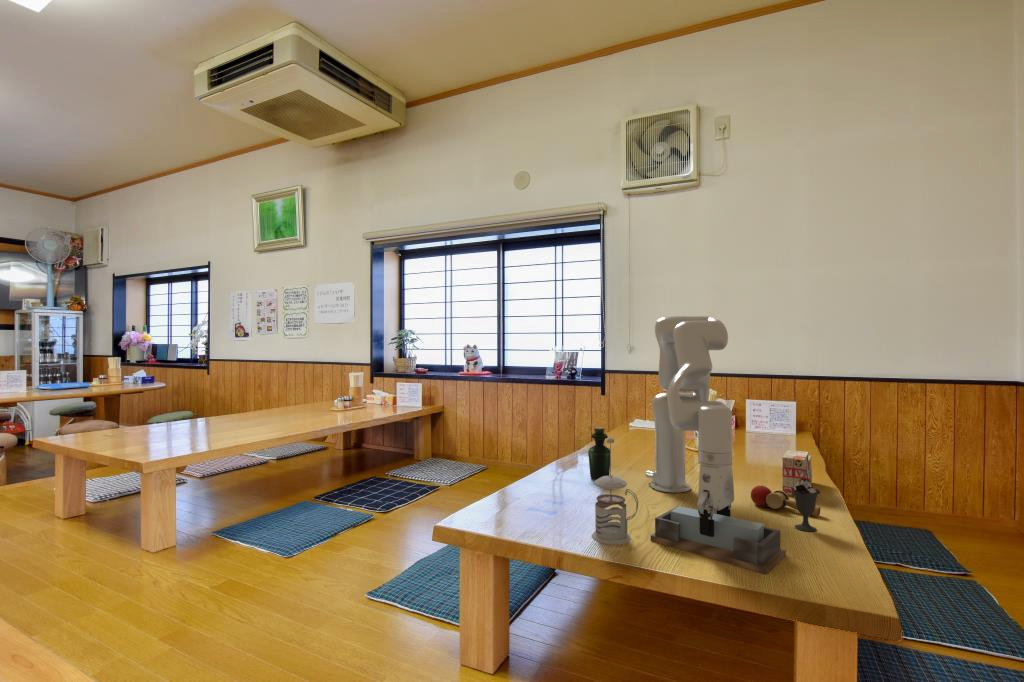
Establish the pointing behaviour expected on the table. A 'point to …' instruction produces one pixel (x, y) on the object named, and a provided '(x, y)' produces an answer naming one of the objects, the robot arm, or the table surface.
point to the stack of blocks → (795, 469)
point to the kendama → (775, 499)
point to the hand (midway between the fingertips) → (715, 529)
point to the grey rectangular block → (716, 528)
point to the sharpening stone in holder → (744, 554)
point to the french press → (611, 511)
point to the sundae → (805, 501)
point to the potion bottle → (599, 455)
